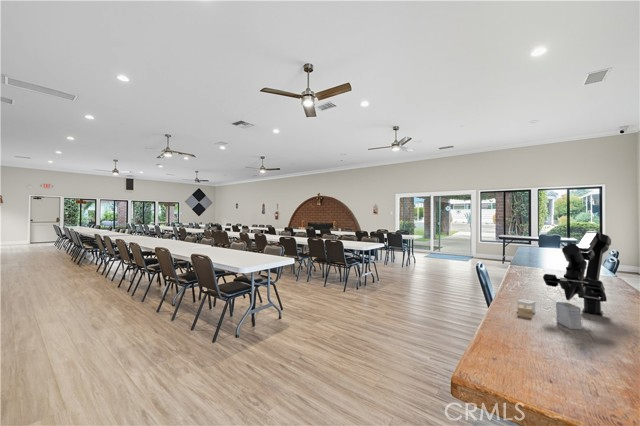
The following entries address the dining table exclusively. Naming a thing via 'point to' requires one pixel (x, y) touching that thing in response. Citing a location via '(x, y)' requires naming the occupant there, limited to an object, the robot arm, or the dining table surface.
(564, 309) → the medicine box
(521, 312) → the oak block
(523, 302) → the grey block
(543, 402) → the dining table surface
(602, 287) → the robot arm
